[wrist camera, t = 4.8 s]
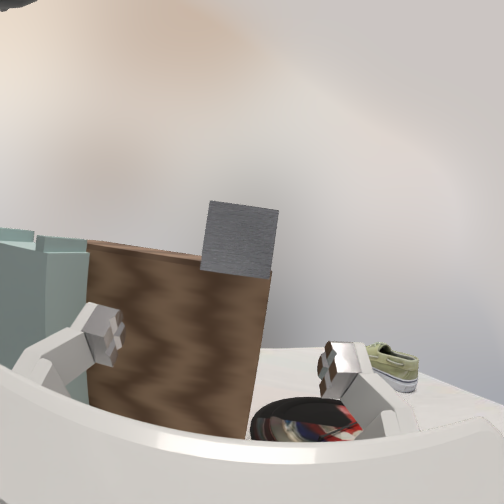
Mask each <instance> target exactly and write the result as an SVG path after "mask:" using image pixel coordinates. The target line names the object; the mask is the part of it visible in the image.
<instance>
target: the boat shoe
mask: <svg viewBox="0 0 504 504" xmlns="http://www.w3.org/2000/svg"><path fill="white" fill-rule="evenodd" d="M365 347H366V350H367V353H368V356H369V359H370V363H371V366H372V369H373V372H374V373H377V374H378V375H379V376H380V377H381V378H382V379H384V380H385V381H386V382H387V383H388V384H389V385H390V386H391V387H392V388H393V389H394V390H396V391H399V392H411V391H413V390H414V389H415V387H416V385H417V383H418V381H417V380H418V363H419V359H418V358H417V357H415V356H412V355H409V354H405V353H401V352H396V351H393V350H391V348H390V346H389V345H387V344H386V343H383V342H380V343H379V342H376V343H375V344H372V345H369V346H365Z"/></svg>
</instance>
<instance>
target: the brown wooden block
mask: <svg viewBox="0 0 504 504" xmlns="http://www.w3.org/2000/svg"><path fill="white" fill-rule="evenodd" d="M86 252H88V253H90V256H89V266H88V278H87V293H86V303H88V302H91V303H95V304H99V305H103V306H107V307H110V308H114V309H118V310H121V311H122V313H123V319H122V322H123V324H124V325H125V328H126V337H125V341H124V344H123V346H122V347H121V348H120V349H118V350H117V352H118V357H117V359H116V362H115V364H114V366H113V367H110V366H106V365H102V364H99V363H95V364H94V365H92V366H91V367H90V368H88V369H87V370H86V372H87V387H88V398H89V405H90V406H93V407H96V408H99V409H102V410H105V411H108V412H111V413H114V414H117V415H121V416H124V417H127V418H131V419H134V420H138V421H142V422H146V423H150V424H154V425H158V426H162V427H167V428H172V429H176V430H181V431H187V432H192V433H198V434H204V435H211V436H218V437H226V438H234V439H244V440H245V435H246V430H247V424H248V419H249V413H250V407H251V402H252V396H253V390H254V384H255V378H256V372H257V366H258V360H259V354H260V348H261V341H262V335H263V329H264V322H265V316H266V309H267V302H268V296H269V289H270V283H271V276H272V271H270V278H269V279H261V278H254V277H246V276H239V275H232V274H225V273H218V272H211V271H204V270H200V265H201V257H202V256H198V255H191V254H185V253H178V252H171V251H164V250H158V249H151V248H144V247H138V246H131V245H125V244H118V243H111V242H104V241H96V240H87V248H86Z"/></svg>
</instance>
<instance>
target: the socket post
mask: <svg viewBox="0 0 504 504" xmlns="http://www.w3.org/2000/svg"><path fill="white" fill-rule="evenodd" d="M33 240H34V231H29V230H20V229H10V228H0V364H1V365H3V366H5V367H6V368H8V369H10V370H12V369H13V367H14V365H15V364H16V362H17V361H18V359H19V358H20V356H21V354H22V353H23V351H24V350H25V349H26V348H28V347H30V346H32V345H34V344H35V343H37V342H39V341H41V340H43V339H45V338H47V337H49V336H51V335H53V334H55V333H57V332H59V331H60V330H62V329H64V328H66V327H69V328H70V327H71V325H72V324H73V322H74V321H75V319H76V318H77V316H78V315H79V313H80V312H81V310H82V309H83V307H84V306H85V304H86V293H87V278H88V266H89V256H90V253H88V252H86V248H87V240H84V239H75V238H63V237H52V236H40V235H37V240H36V243H34V242H33ZM65 387H66V389H67V390H68V392H69V394H70V395H71V398H72V399H74V400H77V401H79V402H82V403H85V404H87V405H89V398H88V387H87V372H86V371H84V372H83V373H82V374H80V375H79V376H78V377H77V378H75V379H74V380H73V381H71V382H70V383H69V384H67V385H66V386H65Z"/></svg>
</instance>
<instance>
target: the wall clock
mask: <svg viewBox="0 0 504 504" xmlns="http://www.w3.org/2000/svg"><path fill="white" fill-rule="evenodd" d="M362 431H363V429H362V428H361V427H360V425H359V424H358V423H357V421H356V420H355V419H354V417H353V416H352V415H351V413H350V412H349V411H348V409H347V408H346V407H345V406H344V404H343V403H342V402H341V400H335V399H327V398H320V397H295V398H288V399H282V400H279V401H275V402H272V403H270V404H268V405H266V406H264V407H262V408H261V409H260V410H259V411H258V412H256V414H255V415H254V417H253V419H252V421H251V427H250V432H251V437H252V440H256V441H272V442H336V441H351V440H354V439H355V438H356V437H357V436H358V435H359V434H360V433H361V432H362Z"/></svg>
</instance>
